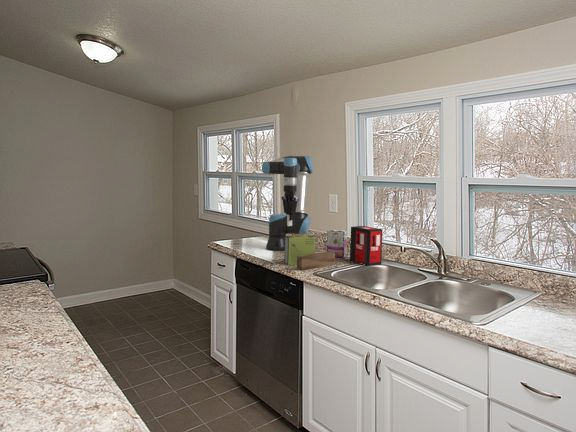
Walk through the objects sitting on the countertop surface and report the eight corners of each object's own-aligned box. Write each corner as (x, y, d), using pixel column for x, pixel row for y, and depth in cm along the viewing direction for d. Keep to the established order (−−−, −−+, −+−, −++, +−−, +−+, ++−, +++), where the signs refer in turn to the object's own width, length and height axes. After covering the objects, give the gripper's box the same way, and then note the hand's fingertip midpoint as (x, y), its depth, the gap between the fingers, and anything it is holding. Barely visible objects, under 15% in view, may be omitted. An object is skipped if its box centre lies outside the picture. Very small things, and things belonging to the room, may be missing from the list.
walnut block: (296, 269, 226) (296, 255, 226) (329, 263, 241) (329, 251, 241) (301, 270, 223) (301, 257, 223) (334, 264, 238) (335, 252, 238)
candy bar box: (346, 257, 262) (347, 230, 260) (343, 258, 257) (344, 231, 256) (329, 255, 267) (330, 229, 266) (326, 256, 263) (327, 229, 261)
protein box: (315, 264, 238) (315, 236, 237) (287, 265, 235) (288, 237, 233) (310, 261, 248) (310, 234, 247) (284, 261, 245) (284, 234, 244)
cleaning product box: (349, 260, 251) (350, 226, 249) (361, 259, 255) (362, 225, 253) (368, 266, 237) (370, 230, 235) (381, 264, 241) (382, 229, 239)
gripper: (277, 184, 250) (277, 225, 252) (292, 185, 240) (291, 227, 242) (288, 184, 255) (287, 224, 257) (302, 185, 244) (301, 226, 247)
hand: (289, 225), depth 250 cm, fingers closed
